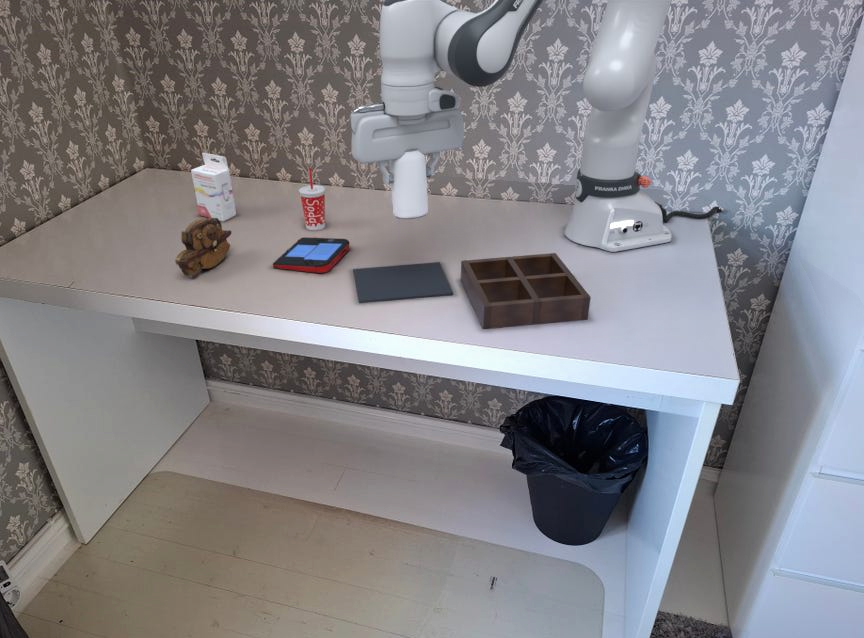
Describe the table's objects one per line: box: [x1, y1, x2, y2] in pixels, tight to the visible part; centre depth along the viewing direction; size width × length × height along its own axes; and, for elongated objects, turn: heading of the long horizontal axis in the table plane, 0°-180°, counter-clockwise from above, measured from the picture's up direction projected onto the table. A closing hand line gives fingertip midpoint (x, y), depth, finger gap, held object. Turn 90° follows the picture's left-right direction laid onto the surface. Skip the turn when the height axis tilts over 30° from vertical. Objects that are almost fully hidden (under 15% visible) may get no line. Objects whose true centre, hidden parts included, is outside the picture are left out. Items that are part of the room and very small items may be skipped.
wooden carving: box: [175, 217, 232, 276], centre depth 141 cm, size 16×5×10 cm, turn 160°
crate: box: [460, 252, 592, 330], centre depth 125 cm, size 19×19×4 cm
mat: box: [352, 261, 454, 304], centre depth 134 cm, size 18×14×1 cm
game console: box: [272, 236, 351, 274], centre depth 145 cm, size 14×13×2 cm
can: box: [388, 149, 429, 220], centre depth 122 cm, size 6×6×12 cm
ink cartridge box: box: [190, 152, 237, 222], centre depth 165 cm, size 9×5×15 cm, turn 58°
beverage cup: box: [298, 167, 326, 231], centre depth 157 cm, size 6×6×14 cm
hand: (408, 180), depth 122 cm, fingers closed on can, 6 cm apart
